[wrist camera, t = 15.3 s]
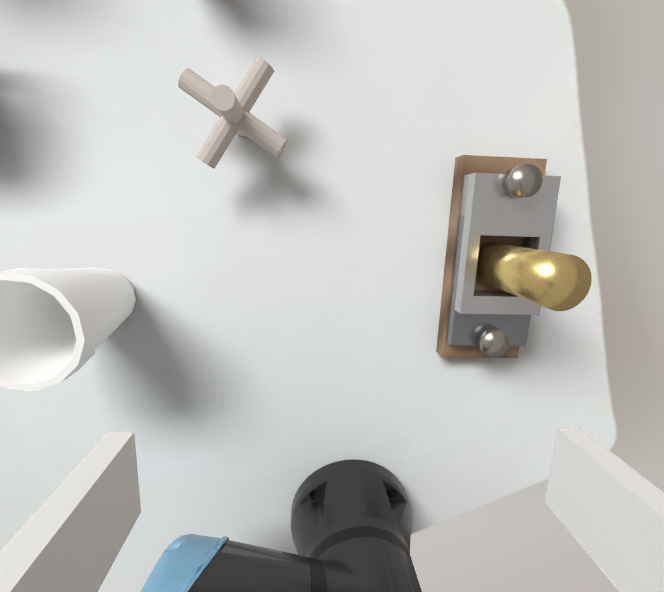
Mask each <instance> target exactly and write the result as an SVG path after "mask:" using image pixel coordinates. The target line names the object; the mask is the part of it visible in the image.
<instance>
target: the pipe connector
mask: <svg viewBox="0 0 664 592" xmlns="http://www.w3.org/2000/svg"><path fill="white" fill-rule="evenodd" d="M273 72H274V70H273V68H272V67H271V66H270V65H269V64H268V63H267V62H266V61H265V60H263V59H262V58H260V57H258V56H257V57H256V59H255V61H254V62H253V64H252V65H251V67H250V69H249V70H248V72H247V74H246V75H245V77H244V79H243V80H242V82H241V84H240V85H239V87H238V89H237V90H236V92H235V94H234V93H233V91H232V90H231V89H230V88H229V87H228V86H225V85H218V86H216V87H214V86H213V85H211V84H210V83H209V82H207V81H206V80H205V79H203V78H202V77H200V76H199V75H198V74H196V73H195V72H194V71H192V70H191V69H189V68H187V69H186V70H184V71H183V73H182V74H181V76H180V78H179V83H178V85H179V88H181V89H182V90H183V91H185V92H186V93H188V94H189V95H190V96H192V97H193V98H194V99H196V100H197V101H199V102H200V103H201V104H203V105H204V106H206V107H207V108H208V109H210V110H211V111H212V112H214V113H215V114H217V115H218V116H219V117H220V118H219V120H218V122H217V123H216V125H215V127H214V128H213V130H212V132H211V133H210V135H209V137H208V138H207V140H206V142H205V143H204V145H203V147H202V148H201V150H200V152H199V153H198V155H197V156H196V157H197V158H199V159H200V160H201V161H203V162H204V163H206V164H207V165H209V166H210V167H212V168H215V167H216V165H217V163H218V162H219V160H220V159H221V157H222V155H223V154H224V152H225V150H226V149H227V147H228V146H229V144H230V142H231V141H232V139H233V137H234V136H235V134H236V133H237V134H238V135H240V136H247V137H249V138H250V139H251V140H253V141H254V142H255V143H257V144H258V145H260V146H261V147H262V148H264V149H265V150H267V151H268V152H269V153H271V154H272V155H273V156H275V157H278V156H279V155H280V153H281V152H282V150H283V149H284V147H285V145H286V143H287V140H286V139H285V138H283V137H282V136H281V135H279V134H278V133H277V132H275V131H274V130H272V129H271V128H270V127H268V126H267V125H266V124H264V123H263V122H262V121H260V120H259V119H257V118H256V117H255V116H253V115H252V114H251V113H249V111H250V110H251V108H252V107H253V105H254V103H255V102H256V100H257V98H258V97H259V95H260V93H261V92H262V90H263V89H264V87H265V85H266V84H267V82H268V80H269V79H270V77H271V76H272V74H273Z"/></svg>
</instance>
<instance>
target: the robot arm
mask: <svg viewBox="0 0 664 592" xmlns="http://www.w3.org/2000/svg"><path fill="white" fill-rule="evenodd" d="M545 503H546V504H547V506H548V507H549V508H550V509H551V510H552V512H553V513H554V514H555V515H556V516H557V517H558V519H559V520H560V521H561V522H562V524H563V525H564V526H565V527H566V528H567V530H568V531H569V532H570V533H571V534H572V535H573V537H574V538H575V539H576V540H577V542H578V543H579V544H580V545H581V546H582V548H583V549H584V550H585V551H586V552H587V554H588V555H589V556H590V557H591V559H593V561H594V562H595V563H596V564H597V566H598V567H599V568H600V569H601V571H602V572H603V573H604V574H605V575H606V577H607V578H608V579H609V580H610V581H611V583H612V584H613V585H614V586H615V587H616V589H617V590H618V591H619V592H664V493H663V492H662V491H660V490H659V489H658V488H657V487H655V486H654V485H653V484H652V483H650V482H649V481H648V480H646V479H645V478H644V477H643V476H641V475H640V474H639V473H637V472H636V471H635V470H633V469H632V468H631V467H630V466H628V465H627V464H626V463H625V462H623V461H622V460H621V459H620V458H618V457H617V456H616V455H614V454H613V453H612V452H611V451H609V450H608V449H607V448H605V447H604V446H603V445H602V444H600V443H599V442H598V441H596V440H595V439H594V438H593V437H591V436H590V435H589V434H587V433H586V432H585V431H584V430H582V429H581V428H558V430H557V435H556V441H555V446H554V452H553V457H552V463H551V469H550V474H549V480H548V486H547V491H546V496H545ZM140 513H141V508H140V496H139V484H138V472H137V460H136V449H135V437H134V432H107V433H106V434H105V435H104V436H103V437H102V438H101V439H100V440H99V442H98V443H97V444H96V445H95V446H94V447H93V448H92V449H91V450H90V452H89V453H88V454H87V455H86V456H85V457H84V458H83V459H82V460H81V462H80V463H79V464H78V465H77V466H76V467H75V468H74V469H73V470H72V472H71V473H70V474H69V475H68V476H67V477H66V478H65V479H64V481H63V482H62V483H61V484H60V485H59V486H58V487H57V488H56V489H55V491H54V492H53V493H52V494H51V495H50V496H49V497H48V498H47V499H46V501H45V502H44V503H43V504H42V505H41V506H40V507H39V508H38V509H37V511H36V512H35V513H34V514H33V515H32V516H31V517H30V518H29V520H28V521H27V522H26V523H25V524H24V525H23V526H22V527H21V528H20V530H19V531H18V532H17V533H16V534H15V535H14V536H13V537H12V538H11V540H10V541H9V542H8V543H7V544H6V545H5V546H4V547H3V549H2V550H1V551H0V592H98V590H99V588H100V586H101V584H102V582H103V580H104V579H105V577H106V575H107V573H108V571H109V569H110V568H111V566H112V564H113V562H114V560H115V558H116V557H117V555H118V553H119V551H120V549H121V547H122V546H123V544H124V542H125V540H126V538H127V536H128V535H129V533H130V531H131V529H132V527H133V525H134V524H135V522H136V520H137V518H138V516H139V514H140ZM291 531H292V537H293V540H294V543H295V546H296V549H297V551H298V554H299V555H295V554H291V553H286V552H281V551H277V550H272V549H267V548H263V547H258V546H254V545H249V544H244V543H240V542H235V541H230V540H229V538H228V537H222V538H221V539H220V538H214V537H207V536H201V535H194V534H188V535H183V536H181V537H179V538H177V539H176V540H174V541H173V542H172V543H171V544H170V545H169V546H168V547H167V548H166V550H165V551H164V553H163V554H162V556H161V557H160V559H159V560H158V562H157V564H156V565H155V567H154V569H153V571H152V572H151V574H150V576H149V578H148V580H147V582H146V583H145V585H144V587H143V589H142V591H141V592H422V591H421V588H420V585H419V582H418V579H417V575H416V572H415V569H414V566H413V563H412V560H411V557H410V534H411V512H410V506H409V503H408V500H407V497H406V494H405V491H404V489H403V487H402V485H401V483H400V482H399V481H398V479H397V478H396V477H395V476H394V475H393V474H392V473H391V472H390V471H388V470H387V469H385V468H384V467H382V466H380V465H378V464H375V463H372V462H368V461H363V460H344V461H338V462H335V463H331V464H329V465H326V466H324V467H322V468H320V469H318V470H317V471H315V472H314V473H313V474H311V475H310V476H309V477H308V478H307V479H306V480H305V481H304V482H303V483H302V485H301V486H300V487H299V489H298V491H297V493H296V495H295V497H294V500H293V504H292V512H291Z"/></svg>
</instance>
